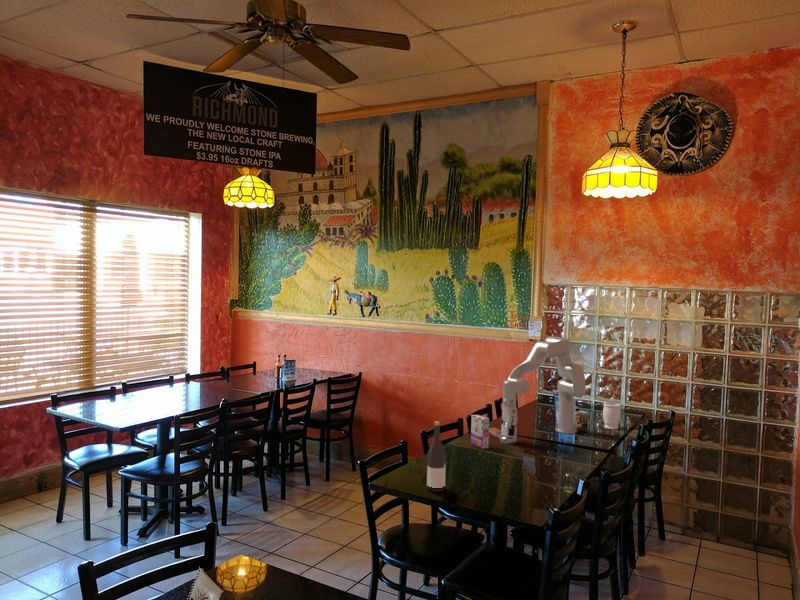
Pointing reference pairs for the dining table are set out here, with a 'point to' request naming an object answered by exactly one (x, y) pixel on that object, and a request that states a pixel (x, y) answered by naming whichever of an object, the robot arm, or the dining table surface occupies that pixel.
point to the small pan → (503, 439)
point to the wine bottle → (436, 461)
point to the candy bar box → (480, 431)
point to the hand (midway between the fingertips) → (508, 433)
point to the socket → (506, 430)
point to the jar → (611, 415)
